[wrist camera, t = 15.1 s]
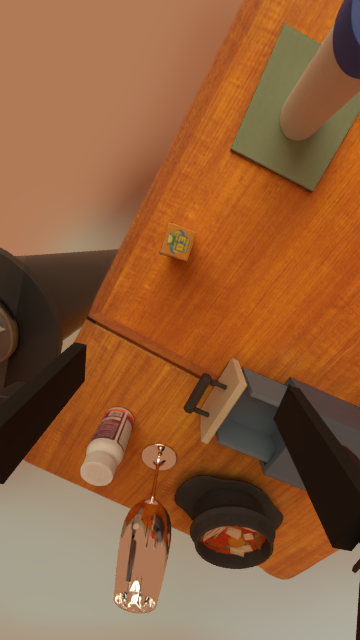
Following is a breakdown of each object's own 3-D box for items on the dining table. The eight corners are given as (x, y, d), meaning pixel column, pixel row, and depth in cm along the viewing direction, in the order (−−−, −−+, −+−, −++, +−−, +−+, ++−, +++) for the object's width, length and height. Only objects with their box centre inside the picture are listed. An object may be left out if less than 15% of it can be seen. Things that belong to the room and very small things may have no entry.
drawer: (178, 401, 40) (175, 431, 33) (208, 347, 36) (211, 370, 29) (268, 437, 41) (281, 473, 35) (306, 389, 37) (329, 420, 31)
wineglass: (151, 437, 44) (119, 579, 26) (184, 452, 45) (176, 601, 26) (135, 460, 47) (95, 604, 28) (166, 474, 48) (148, 623, 29)
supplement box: (188, 258, 32) (186, 264, 23) (167, 250, 32) (155, 253, 22) (196, 235, 31) (197, 232, 22) (174, 227, 31) (165, 220, 21)
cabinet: (250, 430, 42) (263, 474, 34) (289, 377, 38) (315, 413, 30) (318, 457, 43) (347, 507, 35) (365, 409, 39) (409, 453, 31)
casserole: (160, 498, 51) (154, 545, 43) (204, 451, 45) (206, 496, 37) (246, 539, 54) (255, 590, 46) (298, 500, 48) (319, 551, 40)
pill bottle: (99, 417, 44) (68, 474, 33) (116, 400, 42) (90, 453, 31) (123, 434, 45) (100, 494, 34) (141, 418, 43) (123, 475, 32)
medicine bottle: (267, 131, 26) (332, 32, 14) (294, 74, 24) (395, -97, 12) (307, 152, 27) (404, 74, 14) (337, 98, 25) (476, -45, 12)
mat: (230, 149, 27) (230, 148, 27) (283, 26, 23) (284, 22, 23) (311, 192, 28) (313, 191, 28) (376, 80, 24) (379, 77, 24)
